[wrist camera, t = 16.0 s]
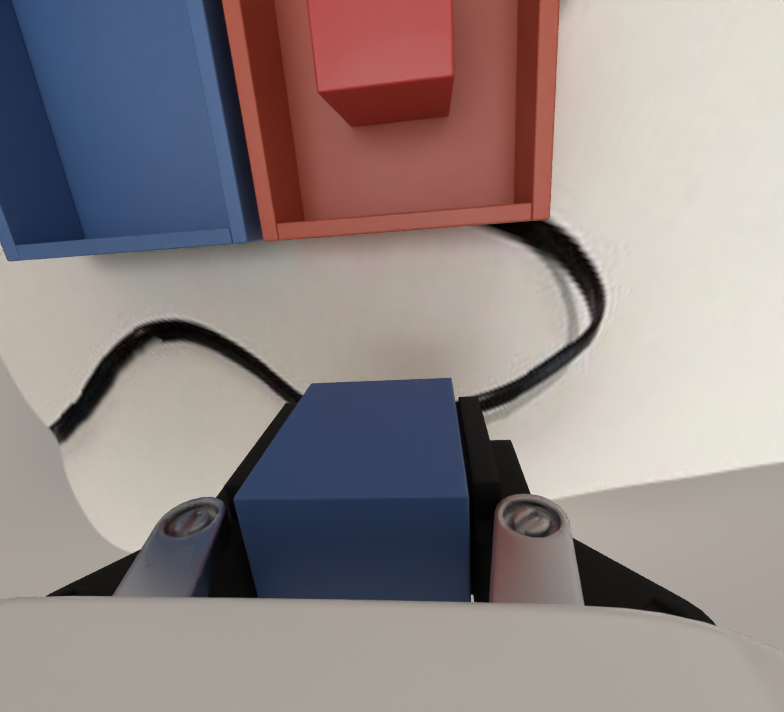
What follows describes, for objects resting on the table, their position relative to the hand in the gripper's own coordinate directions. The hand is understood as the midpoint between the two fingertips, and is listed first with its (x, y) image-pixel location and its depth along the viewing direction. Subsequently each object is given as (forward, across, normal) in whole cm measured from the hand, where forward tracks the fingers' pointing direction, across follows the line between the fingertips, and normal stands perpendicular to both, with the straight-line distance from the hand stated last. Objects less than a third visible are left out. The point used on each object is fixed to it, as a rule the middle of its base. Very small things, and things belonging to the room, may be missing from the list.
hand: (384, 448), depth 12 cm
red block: (+8, -1, -12) cm, 14 cm away
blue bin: (+9, +10, -12) cm, 18 cm away
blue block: (0, 0, 0) cm, 0 cm away
